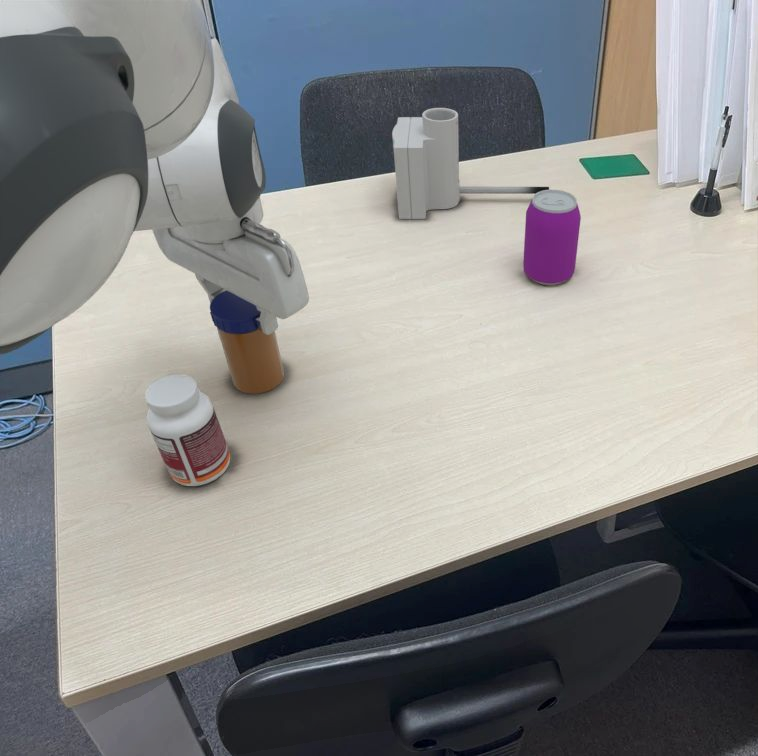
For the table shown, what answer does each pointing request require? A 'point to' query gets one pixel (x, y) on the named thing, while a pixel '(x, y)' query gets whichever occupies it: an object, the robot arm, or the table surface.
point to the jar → (253, 360)
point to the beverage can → (551, 237)
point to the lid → (233, 313)
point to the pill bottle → (186, 430)
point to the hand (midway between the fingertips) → (244, 316)
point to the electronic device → (433, 165)
